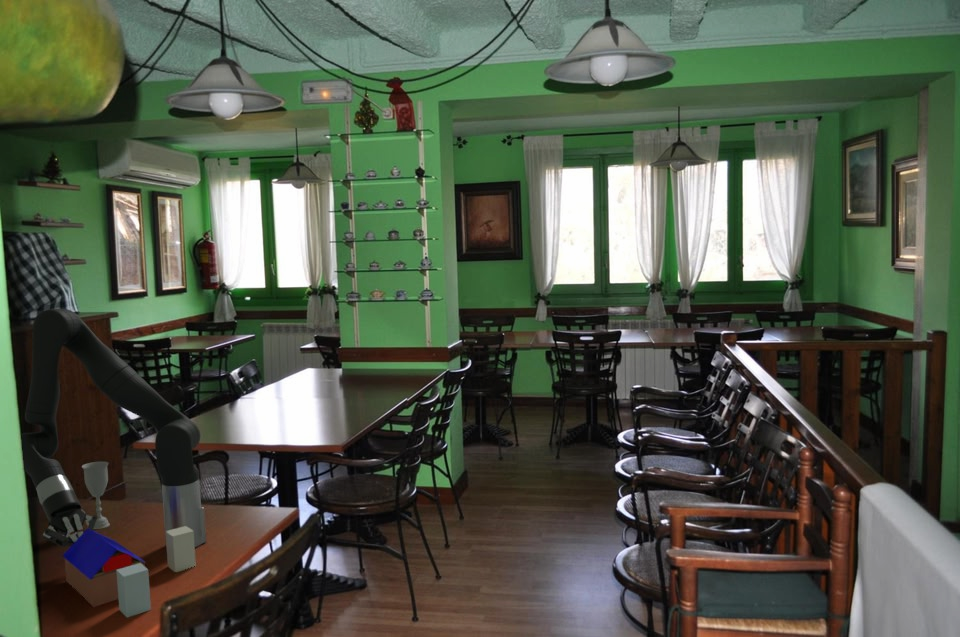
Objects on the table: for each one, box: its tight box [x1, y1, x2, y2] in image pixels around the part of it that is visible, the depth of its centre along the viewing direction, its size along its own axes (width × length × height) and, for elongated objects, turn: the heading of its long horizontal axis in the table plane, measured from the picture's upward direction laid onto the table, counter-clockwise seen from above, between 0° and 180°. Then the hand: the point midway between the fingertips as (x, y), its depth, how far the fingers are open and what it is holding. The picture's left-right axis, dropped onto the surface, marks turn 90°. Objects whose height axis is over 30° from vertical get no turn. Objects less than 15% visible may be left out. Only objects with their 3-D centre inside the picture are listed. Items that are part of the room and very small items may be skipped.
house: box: [62, 528, 146, 608], centre depth 175 cm, size 12×20×12 cm, turn 45°
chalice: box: [81, 461, 111, 530], centre depth 215 cm, size 7×7×18 cm
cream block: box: [164, 526, 197, 573], centre depth 185 cm, size 5×5×9 cm
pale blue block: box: [116, 563, 152, 618], centre depth 162 cm, size 5×5×9 cm
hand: (84, 556), depth 181 cm, fingers closed
